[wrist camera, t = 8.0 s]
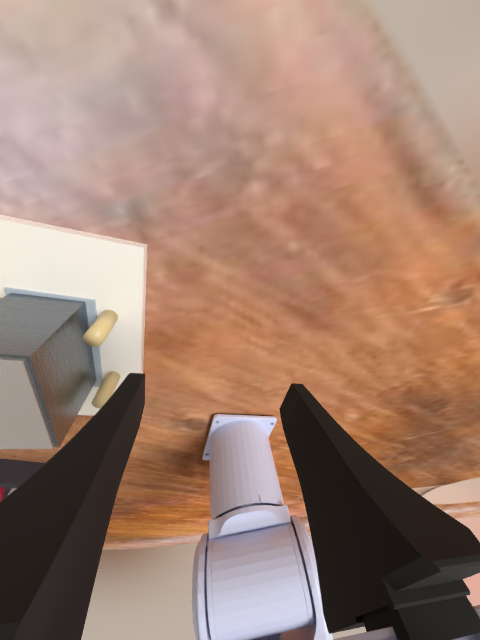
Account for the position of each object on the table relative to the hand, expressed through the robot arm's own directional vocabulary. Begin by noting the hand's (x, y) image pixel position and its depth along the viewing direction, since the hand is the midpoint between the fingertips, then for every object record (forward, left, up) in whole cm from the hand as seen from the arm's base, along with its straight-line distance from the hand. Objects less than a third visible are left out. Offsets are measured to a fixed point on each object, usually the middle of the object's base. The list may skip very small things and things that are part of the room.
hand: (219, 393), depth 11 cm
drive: (-5, +12, -8) cm, 15 cm away
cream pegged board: (-5, +12, -9) cm, 16 cm away
